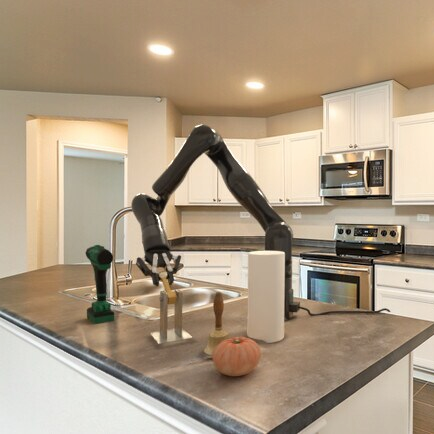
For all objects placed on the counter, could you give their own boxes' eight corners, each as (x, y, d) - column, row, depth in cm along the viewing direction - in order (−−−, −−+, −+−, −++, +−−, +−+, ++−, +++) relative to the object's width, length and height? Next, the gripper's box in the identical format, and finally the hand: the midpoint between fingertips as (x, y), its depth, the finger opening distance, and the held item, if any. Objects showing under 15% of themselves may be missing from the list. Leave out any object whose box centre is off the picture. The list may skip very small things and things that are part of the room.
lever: (155, 278, 118) (156, 269, 117) (166, 277, 120) (167, 269, 119) (165, 306, 108) (167, 296, 107) (177, 304, 110) (178, 295, 108)
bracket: (149, 337, 111) (150, 289, 111) (181, 331, 116) (181, 286, 116) (158, 348, 102) (159, 297, 102) (192, 341, 108) (193, 293, 107)
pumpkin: (213, 365, 91) (214, 332, 91) (259, 361, 94) (259, 329, 94) (210, 385, 81) (211, 347, 81) (262, 380, 83) (262, 344, 83)
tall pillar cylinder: (282, 330, 118) (283, 250, 118) (285, 342, 108) (286, 254, 108) (247, 332, 117) (248, 250, 116) (246, 344, 106) (247, 254, 106)
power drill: (94, 327, 119) (94, 247, 119) (78, 309, 141) (78, 241, 140) (114, 324, 123) (115, 247, 122) (96, 307, 144) (96, 241, 144)
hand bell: (235, 358, 96) (236, 295, 96) (201, 361, 94) (201, 296, 93) (233, 347, 104) (234, 288, 104) (201, 349, 101) (202, 290, 101)
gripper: (133, 234, 119) (140, 279, 109) (179, 233, 127) (190, 274, 117) (129, 249, 123) (137, 294, 113) (175, 247, 132) (185, 289, 122)
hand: (164, 284), depth 116 cm, fingers closed on lever, 3 cm apart
